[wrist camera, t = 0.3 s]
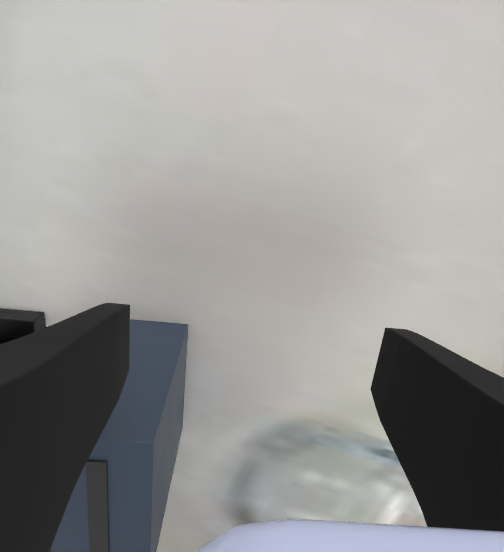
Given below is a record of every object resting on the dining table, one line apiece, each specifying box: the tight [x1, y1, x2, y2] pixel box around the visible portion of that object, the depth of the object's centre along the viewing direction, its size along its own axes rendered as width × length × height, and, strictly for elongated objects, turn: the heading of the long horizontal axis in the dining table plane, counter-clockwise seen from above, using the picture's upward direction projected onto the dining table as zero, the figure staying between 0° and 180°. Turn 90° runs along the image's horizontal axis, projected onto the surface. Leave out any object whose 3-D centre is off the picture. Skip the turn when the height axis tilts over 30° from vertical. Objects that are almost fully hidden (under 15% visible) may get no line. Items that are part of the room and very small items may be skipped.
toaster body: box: [50, 320, 188, 552], centre depth 19 cm, size 7×6×9 cm
